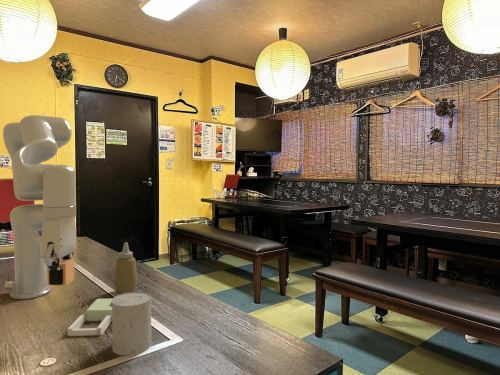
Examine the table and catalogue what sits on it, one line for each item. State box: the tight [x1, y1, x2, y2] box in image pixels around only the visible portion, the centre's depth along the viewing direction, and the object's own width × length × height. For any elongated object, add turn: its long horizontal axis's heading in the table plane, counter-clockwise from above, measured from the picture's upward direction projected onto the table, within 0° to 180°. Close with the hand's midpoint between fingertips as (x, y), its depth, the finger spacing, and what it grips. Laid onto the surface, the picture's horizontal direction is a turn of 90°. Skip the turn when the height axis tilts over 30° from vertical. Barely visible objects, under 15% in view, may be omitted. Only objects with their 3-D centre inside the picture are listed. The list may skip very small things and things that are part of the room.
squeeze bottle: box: [114, 242, 139, 295], centre depth 126 cm, size 8×8×18 cm
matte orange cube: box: [46, 258, 75, 286], centre depth 92 cm, size 5×5×6 cm
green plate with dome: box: [67, 298, 113, 337], centre depth 102 cm, size 15×18×4 cm
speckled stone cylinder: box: [111, 291, 153, 356], centre depth 88 cm, size 10×10×12 cm
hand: (61, 280), depth 92 cm, fingers closed on matte orange cube, 4 cm apart
